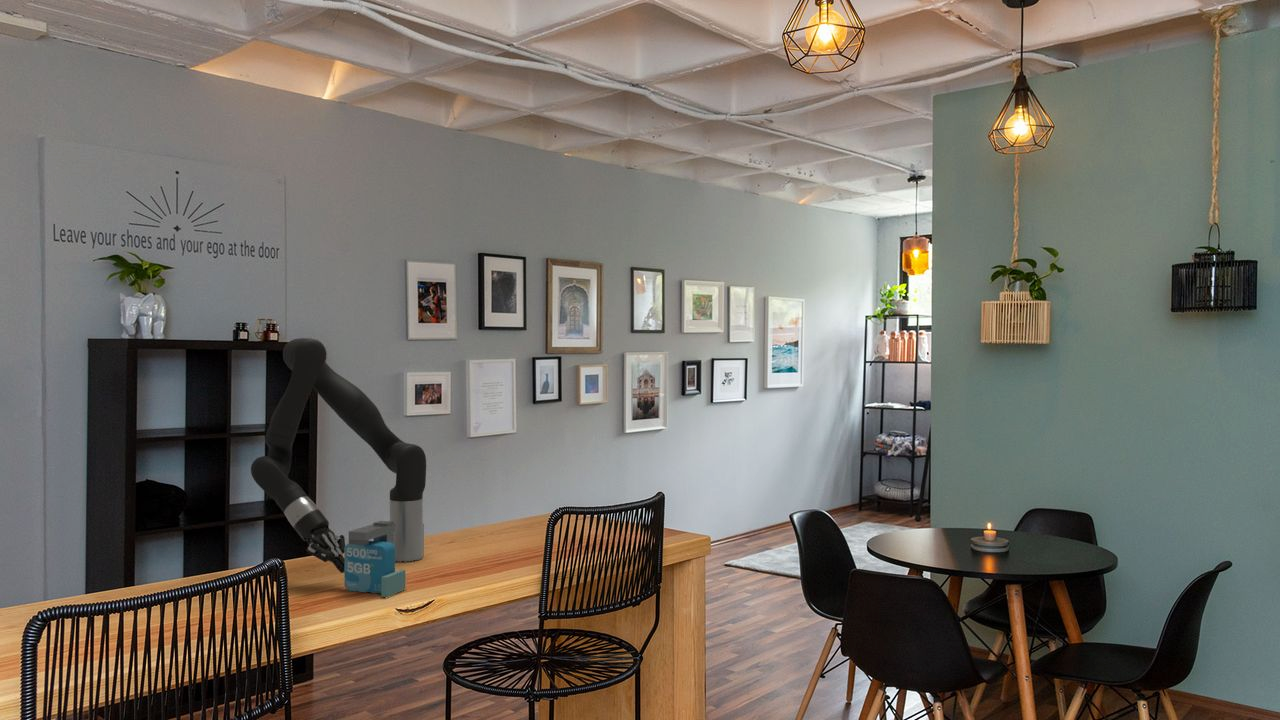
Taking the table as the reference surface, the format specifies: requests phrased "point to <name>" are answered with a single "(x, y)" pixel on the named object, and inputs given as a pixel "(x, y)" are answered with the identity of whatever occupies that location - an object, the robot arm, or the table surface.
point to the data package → (367, 565)
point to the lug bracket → (373, 533)
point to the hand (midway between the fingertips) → (345, 570)
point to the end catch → (392, 583)
